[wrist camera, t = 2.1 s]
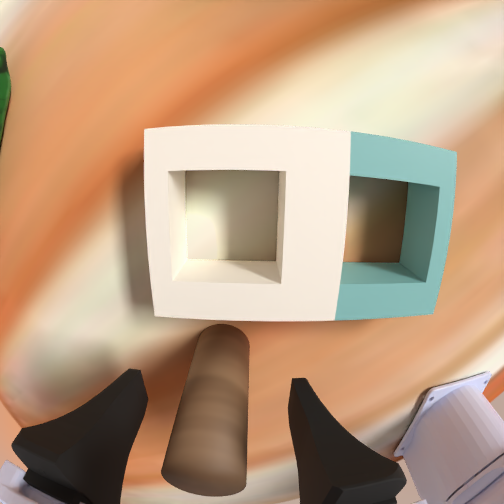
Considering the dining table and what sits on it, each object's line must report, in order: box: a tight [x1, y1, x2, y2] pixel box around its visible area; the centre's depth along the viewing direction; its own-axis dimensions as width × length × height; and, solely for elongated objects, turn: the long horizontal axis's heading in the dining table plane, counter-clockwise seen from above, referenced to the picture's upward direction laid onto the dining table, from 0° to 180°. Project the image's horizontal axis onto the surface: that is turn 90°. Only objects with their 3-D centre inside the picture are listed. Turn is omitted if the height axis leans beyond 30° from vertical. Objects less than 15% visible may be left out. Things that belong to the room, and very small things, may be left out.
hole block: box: [144, 124, 457, 321], centre depth 13 cm, size 8×14×3 cm, turn 89°
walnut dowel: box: [161, 324, 250, 496], centre depth 12 cm, size 3×3×9 cm
